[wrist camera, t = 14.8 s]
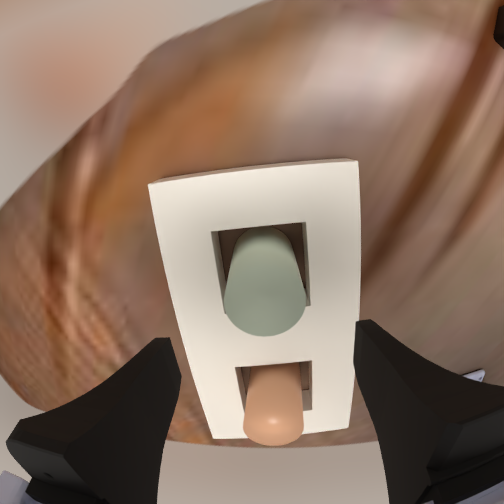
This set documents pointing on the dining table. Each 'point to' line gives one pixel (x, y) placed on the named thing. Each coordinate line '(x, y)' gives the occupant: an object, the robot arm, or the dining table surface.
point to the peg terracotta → (274, 404)
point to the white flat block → (317, 289)
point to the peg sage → (264, 284)
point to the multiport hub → (499, 27)
